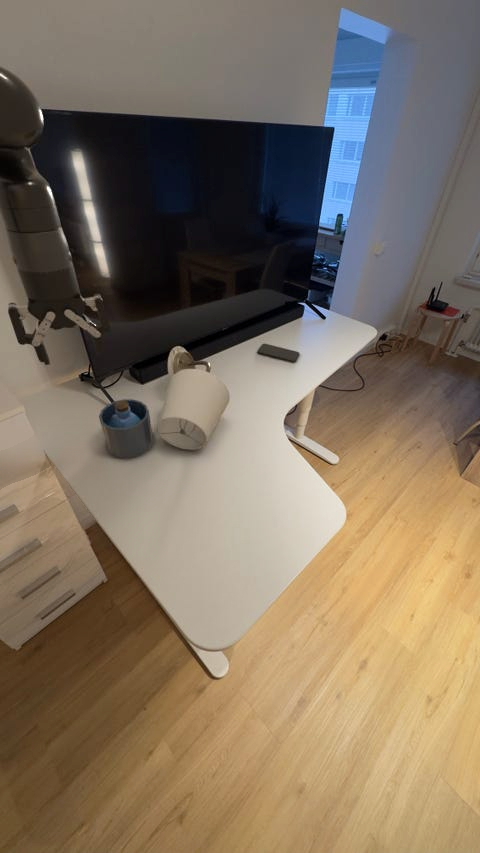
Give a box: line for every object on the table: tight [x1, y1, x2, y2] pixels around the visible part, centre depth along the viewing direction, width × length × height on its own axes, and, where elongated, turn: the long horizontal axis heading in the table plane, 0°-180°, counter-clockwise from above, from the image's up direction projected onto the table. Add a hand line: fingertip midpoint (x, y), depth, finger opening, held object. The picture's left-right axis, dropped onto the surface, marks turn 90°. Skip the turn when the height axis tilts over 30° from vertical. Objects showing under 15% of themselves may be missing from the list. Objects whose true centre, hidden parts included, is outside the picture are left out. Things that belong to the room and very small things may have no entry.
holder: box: [98, 398, 154, 460], centre depth 87 cm, size 12×12×10 cm
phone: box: [257, 343, 300, 363], centre depth 130 cm, size 7×1×15 cm
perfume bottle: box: [108, 400, 142, 428], centre depth 86 cm, size 6×6×12 cm
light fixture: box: [157, 345, 231, 451], centre depth 96 cm, size 17×19×34 cm
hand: (73, 358), depth 61 cm, fingers open, 8 cm apart
